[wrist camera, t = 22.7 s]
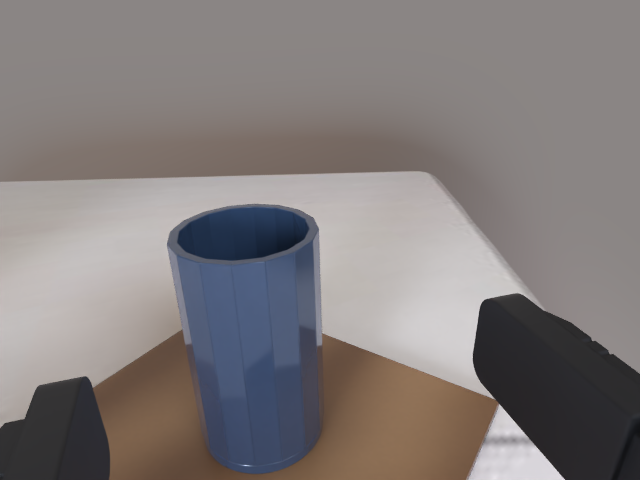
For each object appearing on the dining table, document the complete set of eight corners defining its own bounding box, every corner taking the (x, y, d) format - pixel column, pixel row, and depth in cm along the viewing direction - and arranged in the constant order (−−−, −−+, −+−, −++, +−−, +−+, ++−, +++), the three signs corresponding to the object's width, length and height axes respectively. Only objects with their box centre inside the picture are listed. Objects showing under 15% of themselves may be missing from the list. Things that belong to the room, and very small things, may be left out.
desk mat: (11, 450, 24) (8, 443, 23) (230, 303, 36) (229, 297, 35) (350, 760, 13) (350, 752, 13) (498, 407, 25) (499, 400, 25)
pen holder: (177, 437, 23) (135, 240, 19) (258, 367, 28) (239, 195, 23) (273, 498, 20) (250, 280, 16) (345, 408, 25) (345, 219, 20)
